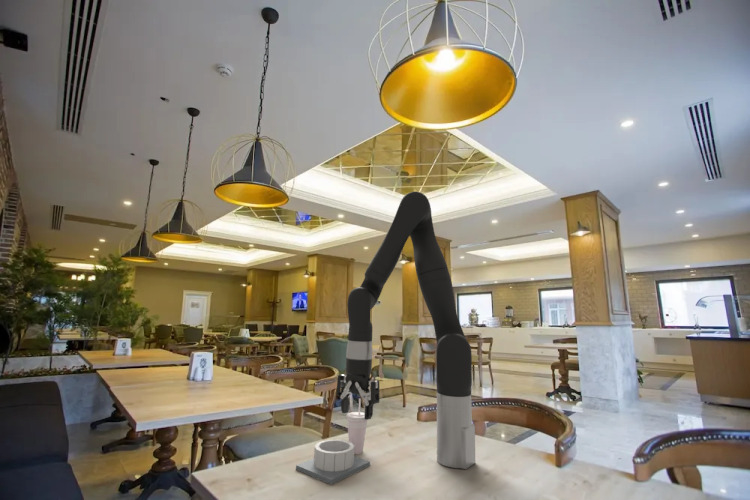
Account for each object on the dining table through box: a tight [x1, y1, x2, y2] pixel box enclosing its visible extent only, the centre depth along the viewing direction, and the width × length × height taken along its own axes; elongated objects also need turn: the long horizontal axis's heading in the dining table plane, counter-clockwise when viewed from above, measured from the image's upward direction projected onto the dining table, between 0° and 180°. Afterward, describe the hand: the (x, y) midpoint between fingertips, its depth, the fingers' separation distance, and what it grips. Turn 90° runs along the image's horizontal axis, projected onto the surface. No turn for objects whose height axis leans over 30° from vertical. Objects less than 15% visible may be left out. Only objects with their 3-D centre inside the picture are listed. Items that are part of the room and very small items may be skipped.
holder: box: [295, 439, 371, 485], centre depth 92 cm, size 12×14×5 cm
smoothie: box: [345, 398, 368, 455], centre depth 104 cm, size 6×6×14 cm
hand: (356, 415), depth 105 cm, fingers open, 8 cm apart
